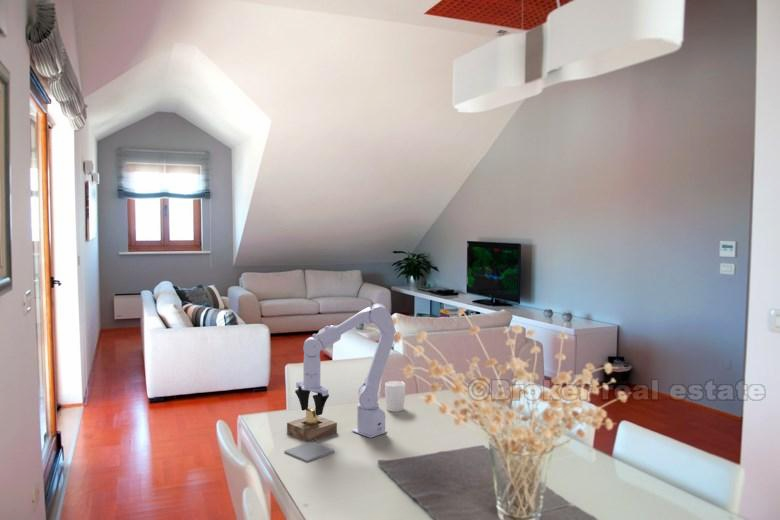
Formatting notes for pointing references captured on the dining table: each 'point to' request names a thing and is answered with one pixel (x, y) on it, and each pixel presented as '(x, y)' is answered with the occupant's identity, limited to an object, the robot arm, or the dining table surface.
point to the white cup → (394, 395)
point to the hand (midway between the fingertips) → (311, 412)
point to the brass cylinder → (311, 417)
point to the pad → (309, 451)
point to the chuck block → (311, 428)
